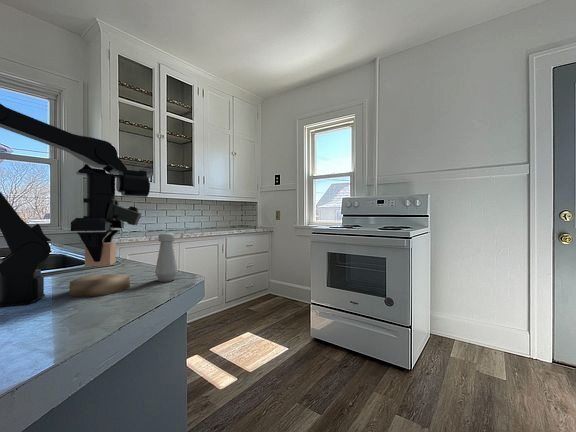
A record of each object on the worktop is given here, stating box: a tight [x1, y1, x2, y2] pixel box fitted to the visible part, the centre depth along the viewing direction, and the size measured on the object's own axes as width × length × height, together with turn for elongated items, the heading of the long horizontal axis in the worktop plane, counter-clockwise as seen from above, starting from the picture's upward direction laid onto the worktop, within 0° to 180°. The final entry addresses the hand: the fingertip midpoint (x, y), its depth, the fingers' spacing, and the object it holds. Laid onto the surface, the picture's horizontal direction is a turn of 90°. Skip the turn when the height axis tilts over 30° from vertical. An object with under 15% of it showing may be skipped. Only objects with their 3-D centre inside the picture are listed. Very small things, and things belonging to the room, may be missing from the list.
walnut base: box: [69, 273, 131, 298], centre depth 67 cm, size 12×12×2 cm
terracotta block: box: [84, 241, 117, 267], centre depth 67 cm, size 5×5×5 cm
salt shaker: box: [154, 232, 179, 282], centre depth 78 cm, size 6×6×13 cm
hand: (100, 260), depth 67 cm, fingers closed on terracotta block, 5 cm apart
